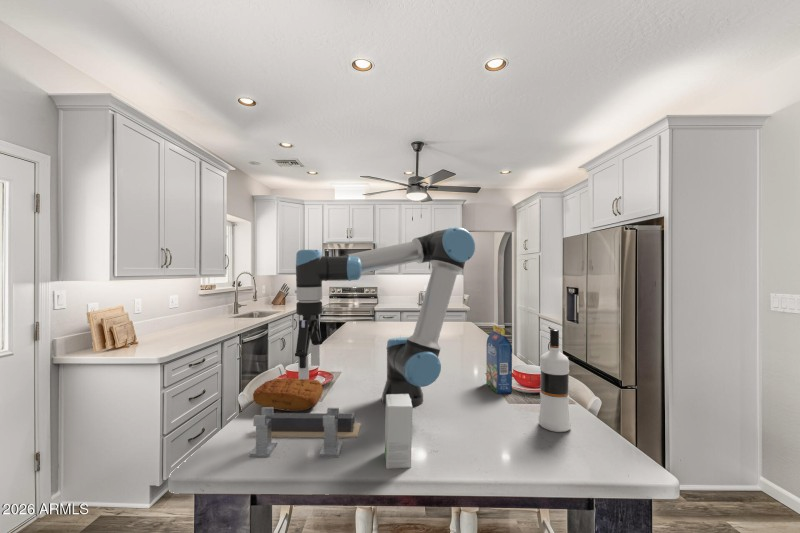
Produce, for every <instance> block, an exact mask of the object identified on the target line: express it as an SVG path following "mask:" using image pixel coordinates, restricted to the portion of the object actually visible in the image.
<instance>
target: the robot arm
mask: <svg viewBox="0 0 800 533" xmlns="http://www.w3.org/2000/svg"><path fill="white" fill-rule="evenodd" d="M475 242H476V241H475V240H474V237H473V236H472V234H471V232H469V230H467V229H465V228H463V227H460V226H459V227H456V226H455V227H453V226H452V227H448V228H445V229H441V230H437V231H434V232H431V233H428V234H426V235H423V236H419V237H414V238H413V239H412V241H407V242H402V243H397V244H393V245H389V246H384V247H377V248H374V249H368V250H363V251H359V252H355V253H349V254H346V255H344V254H343V255H339V256H338V255H337V256H325V255H323V253H322V251H321V250H320V249H299V250H298V251H297V252H296V256H295V281H296V282H295V283H296V285H295V286H296V288H295V290H294V293H295V295H296V301H297V302H296V303H295V304H296V314H297V316H302V319H301V320H300V319H299V321H298V334H297V340H296V347H295V348H296V350H295V352H294V357H298V358H297V359H298V360H297V361H298V364H297V365H298V371H297V372H298V378H299V379H308V380H310V372H309V371H310V368H309V367H310V366H312V367H313V366H314V367H315V366H316V367H317V366H318V367H319V366H320V365H321V345H323V340H322V334H321V327H320V326H321V325H320V316H319V315H321V314H322V313H323V302H322V301H321V300H323V282H328V281H332V282H333V281H334V282H335V281H336V282H339V281H341V282H343V281H348V282H351V281H358V280H359V279H360V278H361V276H362V274H364V273H369V272H374V271H379V270H383V269H388V268H393V267H398V266H402V265H405V264H410V263H417V264H422V263H423V264H424V263H430V264H431V266H432V269H431V274H430V276H429V280H428V283H427V286H426V290H425V293H424V297H423V301H422V303H421V307H420V311H419V314H418V317H417V320H416V323H415V327H414V332H413V334H412V335H410V336H407V337H406V336H405V337H394V338H393V337H392V338H389V339H388V340H387V343H386V344H387V345H386V381H385V384H384V387H383V391H382V394H381V401H382V403H383V404H384V405H386V394H409V396H410V399H411V403H412V406H413V408H414V407H419V406H420V405H421V404H422V403H423V402H424V393H423V390H422V387H423V388H424V387H428V386H430V385H432V384H433V383H435V382H436V381H437V379H438V378H439V376H440V375H441V371H442V363H441V361H440V358H439V356H440V352H441V347H440V345H439V338H440V335H441V331H442V328H443V326H444V325H443V324H444V320H445V318H446V315H447V314H446V313H447V310H448V306H449V304H450V300H451V298H452V297H451V296H452V293H453V289H454V286H455V282H456V279H457V275H458V274H460V273H461V272H463V270H464V267H465V264H466V262H467V261H469V260H470V259H471V258H472V257H473V256H474V254H475V252H476V244H475ZM310 342H311V345H310ZM309 347H310V356H309V355H308V353H309ZM309 358H310V359H309ZM309 360H310V361H309ZM309 363H310V365H309Z"/></svg>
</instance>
